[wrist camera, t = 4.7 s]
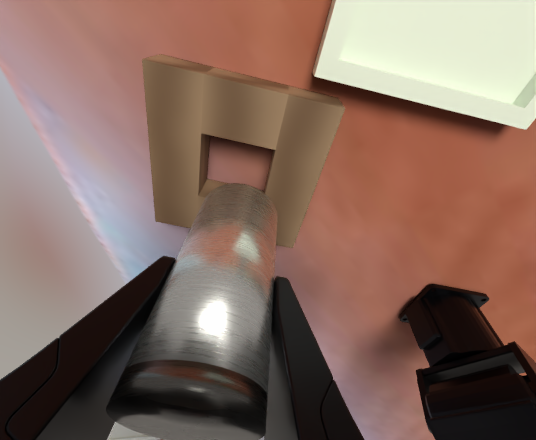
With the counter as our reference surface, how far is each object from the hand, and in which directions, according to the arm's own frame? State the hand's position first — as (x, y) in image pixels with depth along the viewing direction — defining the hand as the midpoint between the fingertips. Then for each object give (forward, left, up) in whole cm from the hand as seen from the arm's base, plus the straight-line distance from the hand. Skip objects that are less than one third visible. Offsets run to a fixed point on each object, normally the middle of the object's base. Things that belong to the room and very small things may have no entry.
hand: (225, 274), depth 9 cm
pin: (0, 0, -3) cm, 3 cm away
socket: (+1, +1, -12) cm, 12 cm away
